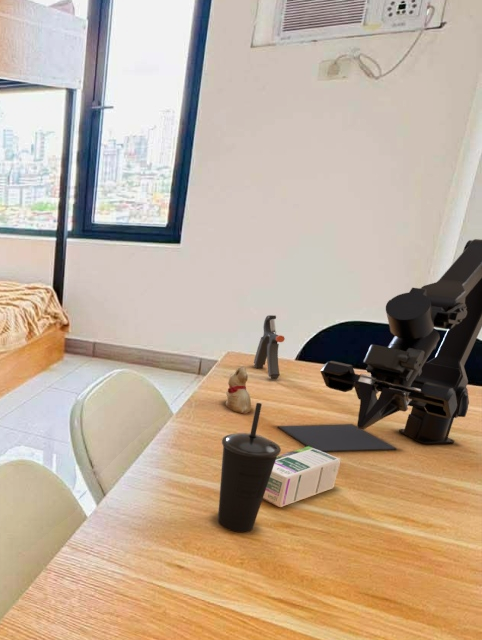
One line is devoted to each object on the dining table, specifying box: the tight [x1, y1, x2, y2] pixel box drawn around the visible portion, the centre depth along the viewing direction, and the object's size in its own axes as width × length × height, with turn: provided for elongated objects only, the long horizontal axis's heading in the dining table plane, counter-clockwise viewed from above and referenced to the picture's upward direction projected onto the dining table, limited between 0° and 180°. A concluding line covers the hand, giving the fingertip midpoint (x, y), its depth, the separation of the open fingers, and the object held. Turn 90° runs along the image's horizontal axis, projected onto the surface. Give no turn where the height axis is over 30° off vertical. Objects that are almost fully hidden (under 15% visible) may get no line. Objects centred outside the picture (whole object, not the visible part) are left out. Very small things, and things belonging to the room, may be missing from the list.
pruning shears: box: [253, 314, 285, 380], centre depth 162 cm, size 2×12×15 cm, turn 171°
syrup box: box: [262, 446, 342, 508], centre depth 105 cm, size 6×6×14 cm
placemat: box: [277, 423, 397, 453], centre depth 126 cm, size 16×12×1 cm
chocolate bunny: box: [225, 365, 252, 415], centre depth 141 cm, size 6×8×10 cm
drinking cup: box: [217, 402, 282, 533], centre depth 94 cm, size 8×8×20 cm
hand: (360, 427), depth 106 cm, fingers closed
